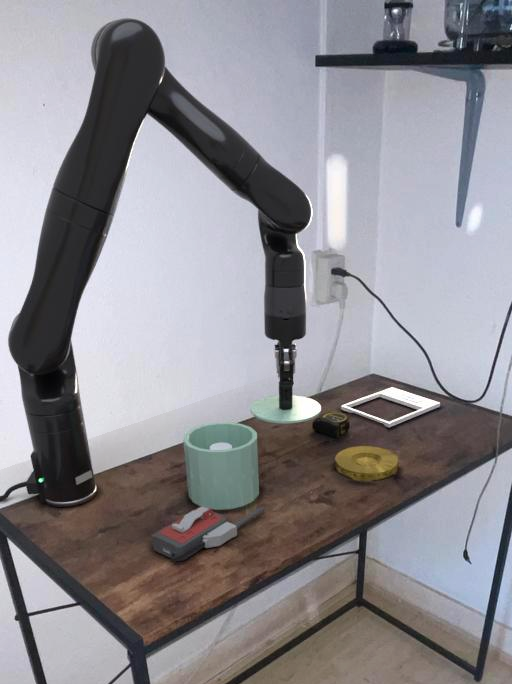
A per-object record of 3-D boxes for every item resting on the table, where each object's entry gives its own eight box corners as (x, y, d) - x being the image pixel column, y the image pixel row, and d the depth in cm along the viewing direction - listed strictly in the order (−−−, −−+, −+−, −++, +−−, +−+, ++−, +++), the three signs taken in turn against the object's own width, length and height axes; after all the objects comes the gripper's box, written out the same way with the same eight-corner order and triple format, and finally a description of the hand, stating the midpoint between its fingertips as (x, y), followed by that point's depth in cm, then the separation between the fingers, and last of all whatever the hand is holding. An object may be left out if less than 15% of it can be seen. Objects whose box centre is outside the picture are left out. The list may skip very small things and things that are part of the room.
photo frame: (440, 401, 159) (389, 422, 149) (440, 406, 160) (388, 427, 150) (392, 386, 169) (341, 404, 158) (392, 390, 169) (340, 409, 159)
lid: (250, 427, 126) (249, 395, 123) (250, 400, 138) (249, 371, 135) (323, 425, 127) (324, 394, 124) (318, 399, 138) (318, 370, 135)
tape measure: (310, 434, 148) (310, 417, 146) (331, 424, 152) (331, 408, 150) (335, 442, 143) (335, 426, 142) (355, 432, 148) (355, 416, 146)
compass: (373, 451, 139) (373, 441, 138) (410, 474, 130) (411, 463, 129) (323, 464, 134) (323, 454, 133) (358, 489, 125) (358, 478, 124)
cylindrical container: (186, 513, 119) (180, 452, 113) (192, 479, 130) (187, 423, 124) (259, 510, 119) (256, 450, 113) (259, 477, 130) (256, 421, 124)
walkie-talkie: (185, 572, 103) (267, 517, 117) (182, 547, 101) (267, 494, 115) (145, 553, 108) (229, 502, 122) (141, 529, 106) (227, 480, 119)
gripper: (263, 301, 128) (265, 389, 137) (264, 320, 116) (266, 415, 125) (303, 300, 129) (303, 388, 137) (308, 319, 117) (307, 414, 125)
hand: (285, 400), depth 131 cm, fingers closed on lid, 2 cm apart
